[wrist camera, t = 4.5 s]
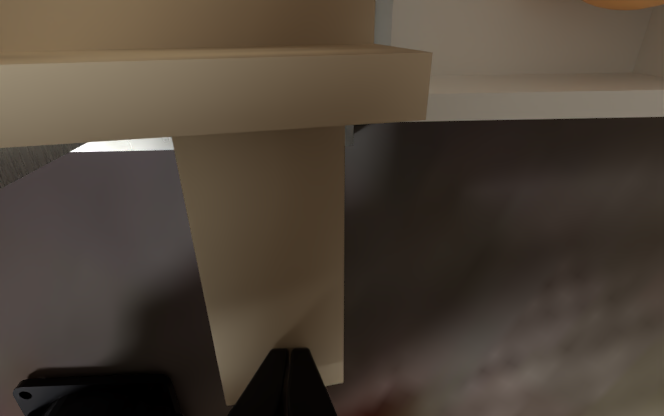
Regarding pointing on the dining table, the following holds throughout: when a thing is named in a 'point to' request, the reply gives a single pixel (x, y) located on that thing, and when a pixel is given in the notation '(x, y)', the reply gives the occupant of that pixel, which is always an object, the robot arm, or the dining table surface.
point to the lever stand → (21, 161)
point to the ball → (624, 4)
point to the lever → (225, 138)
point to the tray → (531, 57)
